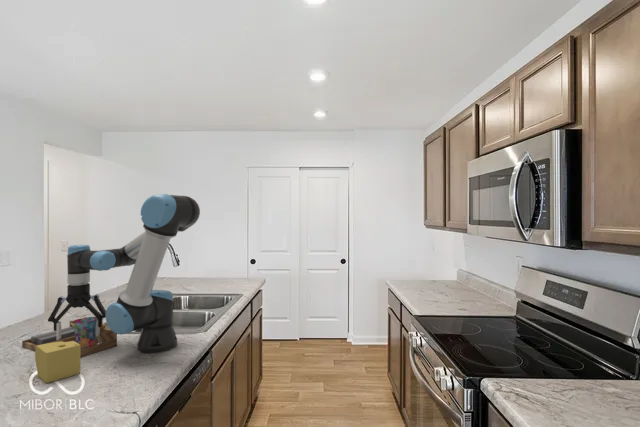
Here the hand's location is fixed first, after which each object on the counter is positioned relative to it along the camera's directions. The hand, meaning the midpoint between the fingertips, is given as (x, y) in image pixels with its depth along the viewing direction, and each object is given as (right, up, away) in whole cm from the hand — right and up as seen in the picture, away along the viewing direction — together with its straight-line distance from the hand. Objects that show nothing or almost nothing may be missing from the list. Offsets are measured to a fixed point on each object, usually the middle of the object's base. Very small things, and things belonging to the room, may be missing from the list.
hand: (78, 337), depth 148 cm
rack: (-5, -5, +3) cm, 8 cm away
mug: (+3, -4, +1) cm, 5 cm away
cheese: (+9, -5, -24) cm, 26 cm away
